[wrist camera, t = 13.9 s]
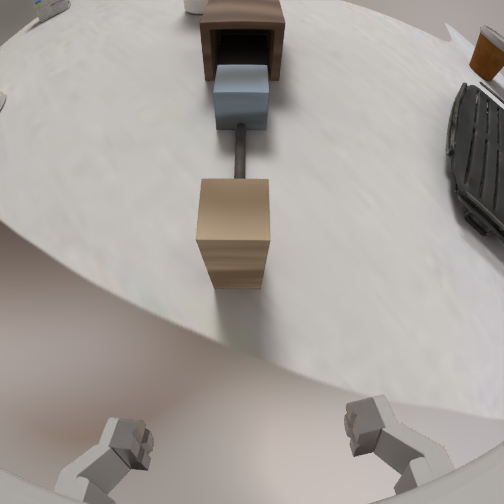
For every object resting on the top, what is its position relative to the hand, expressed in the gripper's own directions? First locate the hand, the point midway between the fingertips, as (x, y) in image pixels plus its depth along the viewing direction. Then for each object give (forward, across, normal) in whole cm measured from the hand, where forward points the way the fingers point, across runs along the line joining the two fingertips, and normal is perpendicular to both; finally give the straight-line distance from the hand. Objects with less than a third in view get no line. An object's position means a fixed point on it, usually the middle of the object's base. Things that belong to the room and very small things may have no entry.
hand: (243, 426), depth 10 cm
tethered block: (+20, +1, +7) cm, 21 cm away
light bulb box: (+70, -52, +70) cm, 112 cm away
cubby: (+35, +3, +23) cm, 42 cm away
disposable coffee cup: (+44, +57, +26) cm, 77 cm away
